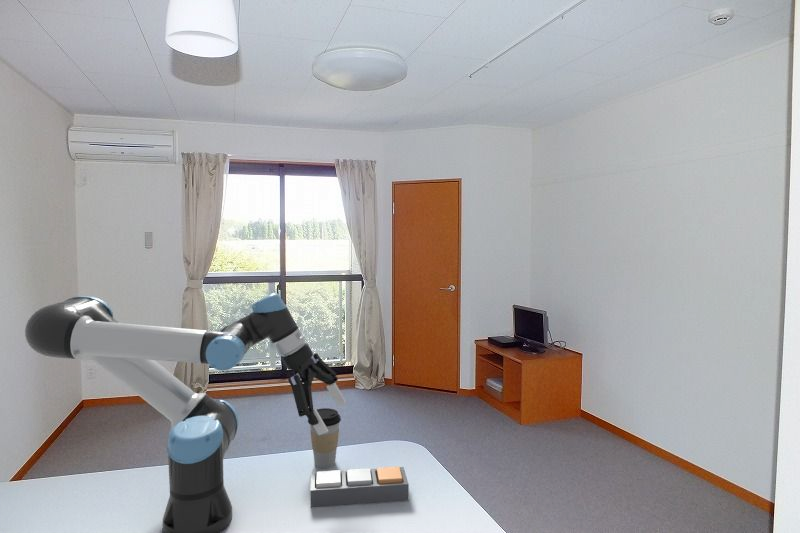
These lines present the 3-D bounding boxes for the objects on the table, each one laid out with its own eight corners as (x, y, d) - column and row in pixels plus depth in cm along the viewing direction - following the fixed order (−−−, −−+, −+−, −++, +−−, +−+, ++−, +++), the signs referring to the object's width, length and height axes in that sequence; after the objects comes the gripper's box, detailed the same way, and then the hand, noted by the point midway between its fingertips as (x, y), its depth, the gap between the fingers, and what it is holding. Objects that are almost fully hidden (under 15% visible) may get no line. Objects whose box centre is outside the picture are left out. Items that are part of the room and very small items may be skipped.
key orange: (378, 487, 127) (378, 479, 127) (376, 475, 133) (376, 467, 133) (402, 485, 128) (402, 478, 128) (399, 473, 134) (399, 466, 134)
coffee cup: (338, 471, 141) (338, 420, 140) (305, 470, 142) (304, 419, 140) (343, 455, 151) (342, 407, 149) (311, 455, 151) (311, 406, 149)
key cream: (316, 491, 125) (316, 483, 125) (317, 478, 131) (316, 471, 131) (340, 489, 126) (340, 482, 125) (340, 477, 132) (340, 470, 131)
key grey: (347, 489, 126) (347, 481, 126) (347, 476, 132) (347, 469, 132) (371, 487, 127) (371, 480, 127) (369, 475, 133) (369, 468, 132)
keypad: (310, 507, 124) (310, 490, 123) (311, 488, 132) (311, 472, 132) (408, 500, 127) (408, 484, 127) (403, 482, 136) (403, 466, 135)
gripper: (283, 366, 116) (327, 442, 119) (323, 325, 140) (359, 389, 143) (258, 377, 119) (302, 451, 122) (302, 335, 142) (338, 398, 145)
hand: (333, 418), depth 132 cm, fingers open, 13 cm apart
